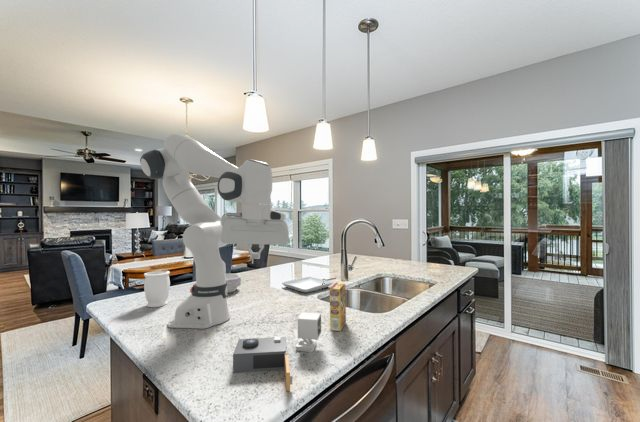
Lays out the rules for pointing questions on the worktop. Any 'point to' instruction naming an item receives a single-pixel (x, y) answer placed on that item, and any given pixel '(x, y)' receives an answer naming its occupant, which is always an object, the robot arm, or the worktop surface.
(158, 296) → the jar
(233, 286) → the paper bowls
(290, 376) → the door
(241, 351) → the grey knob box
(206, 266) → the robot arm
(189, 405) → the worktop surface
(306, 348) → the security camera
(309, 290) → the salad plate
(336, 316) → the candy box
